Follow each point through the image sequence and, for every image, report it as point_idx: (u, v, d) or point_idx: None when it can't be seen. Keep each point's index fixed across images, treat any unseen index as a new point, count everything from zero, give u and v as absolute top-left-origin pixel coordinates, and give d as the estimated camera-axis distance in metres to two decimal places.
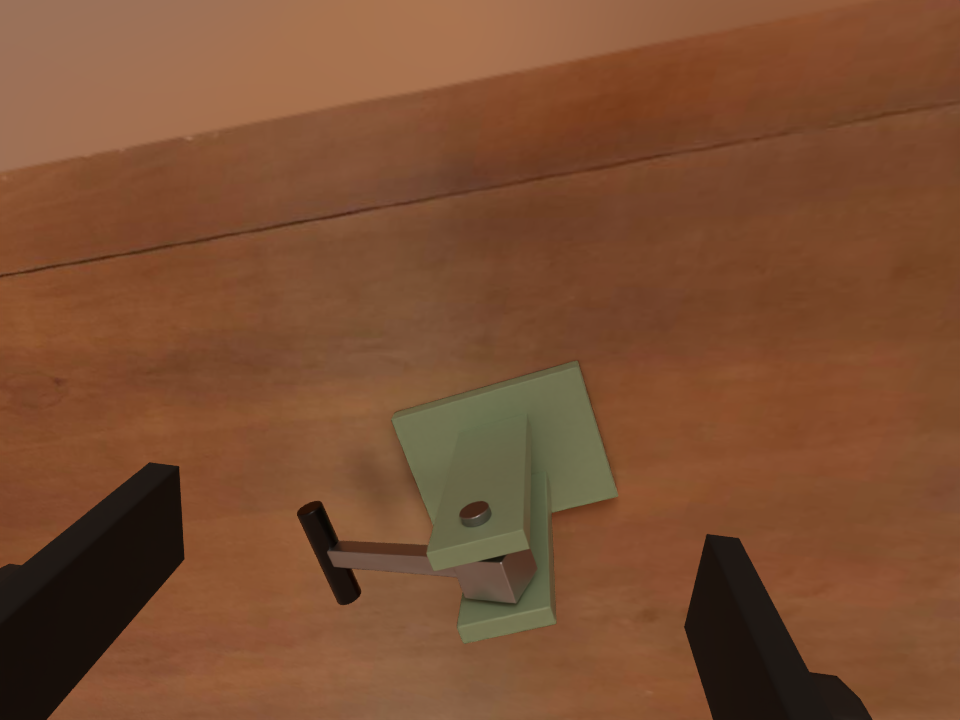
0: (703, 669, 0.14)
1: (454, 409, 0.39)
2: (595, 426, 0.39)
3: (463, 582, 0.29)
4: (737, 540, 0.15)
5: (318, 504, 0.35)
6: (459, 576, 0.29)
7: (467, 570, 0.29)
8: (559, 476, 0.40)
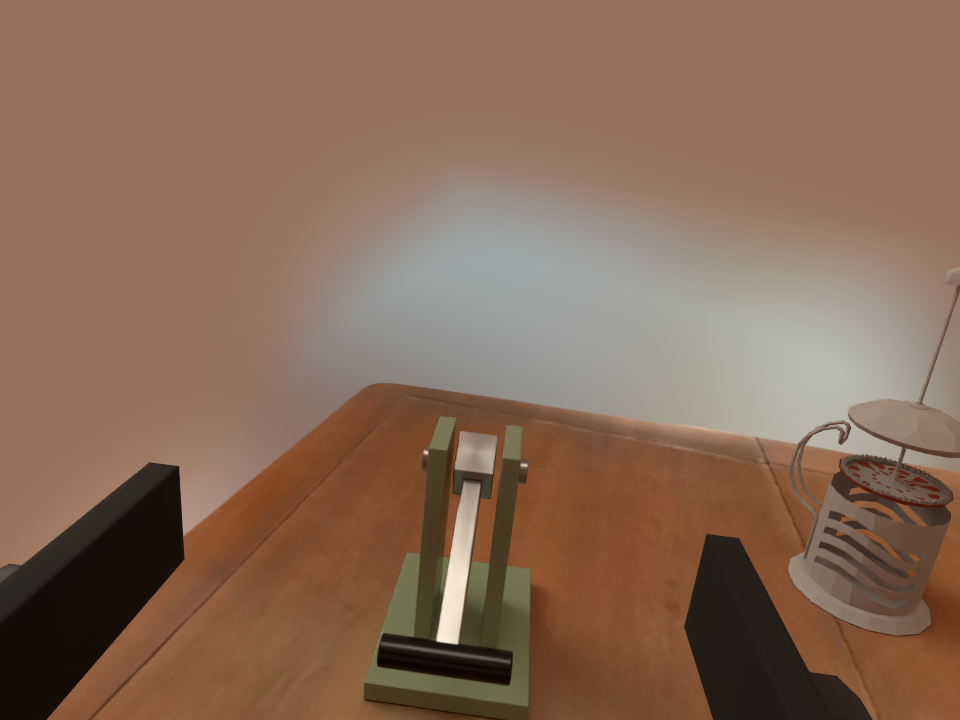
0: (704, 669, 0.14)
1: (389, 630, 0.39)
2: None
3: (476, 467, 0.35)
4: (737, 540, 0.15)
5: None
6: (470, 468, 0.35)
7: (465, 458, 0.36)
8: None
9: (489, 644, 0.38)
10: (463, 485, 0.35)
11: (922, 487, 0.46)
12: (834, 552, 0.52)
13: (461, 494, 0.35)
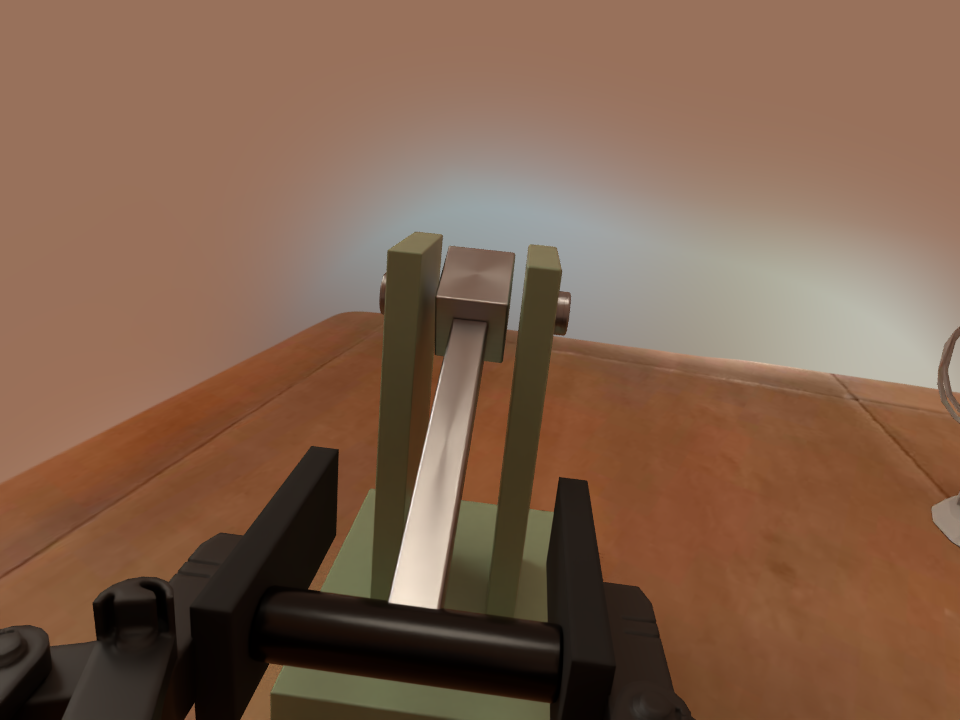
0: (548, 593, 0.16)
1: None
2: None
3: (476, 294, 0.19)
4: (586, 483, 0.17)
5: None
6: (466, 296, 0.19)
7: (456, 282, 0.20)
8: None
9: None
10: (453, 327, 0.19)
11: None
12: None
13: (449, 340, 0.19)
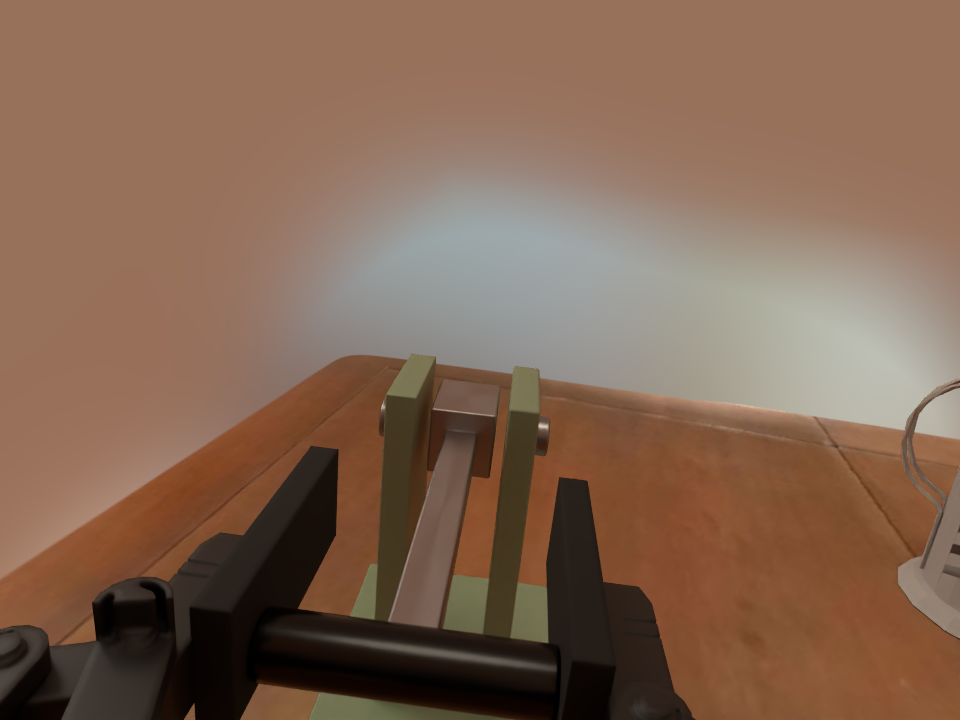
0: (549, 593, 0.16)
1: None
2: None
3: (467, 409, 0.22)
4: (586, 482, 0.17)
5: None
6: (458, 409, 0.22)
7: (449, 400, 0.22)
8: None
9: None
10: (446, 436, 0.21)
11: None
12: None
13: (443, 444, 0.21)
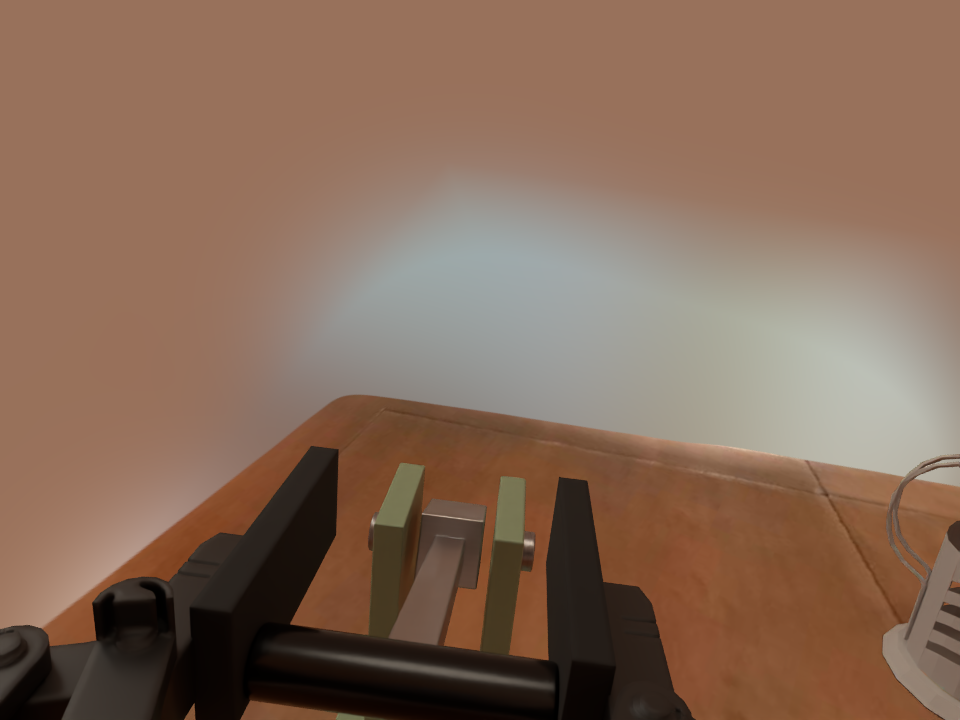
0: (548, 593, 0.16)
1: None
2: None
3: (457, 515, 0.23)
4: (586, 483, 0.17)
5: None
6: (448, 515, 0.23)
7: (439, 510, 0.23)
8: None
9: None
10: (436, 539, 0.22)
11: None
12: (942, 628, 0.39)
13: (433, 543, 0.21)
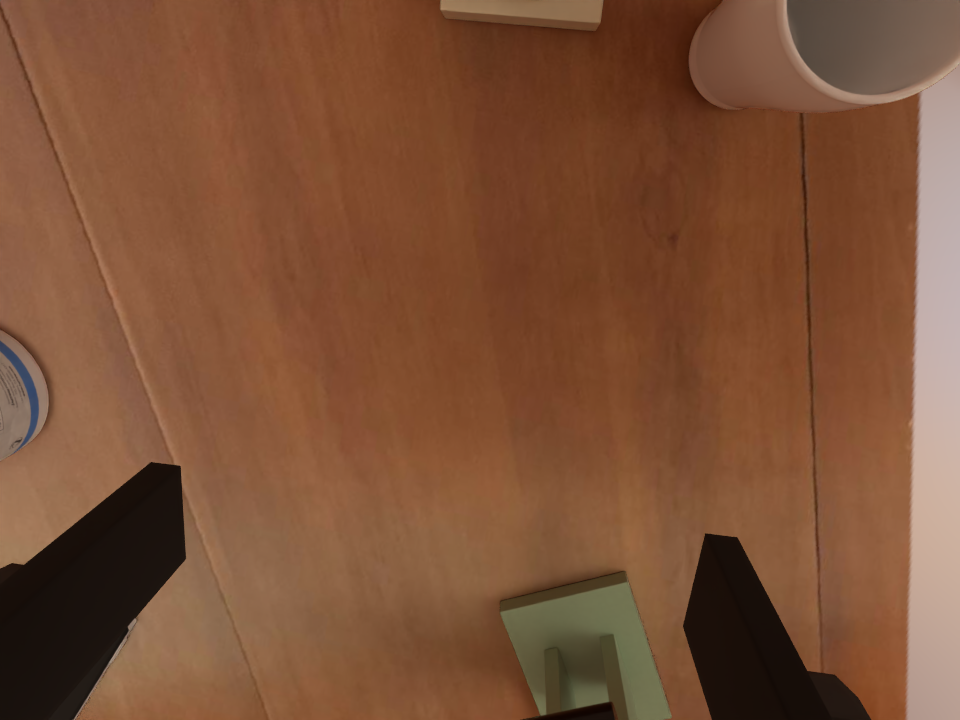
0: (702, 669, 0.14)
1: (636, 631, 0.44)
2: None
3: None
4: (735, 539, 0.15)
5: (617, 716, 0.28)
6: None
7: None
8: None
9: (549, 651, 0.44)
10: None
11: None
12: None
13: None
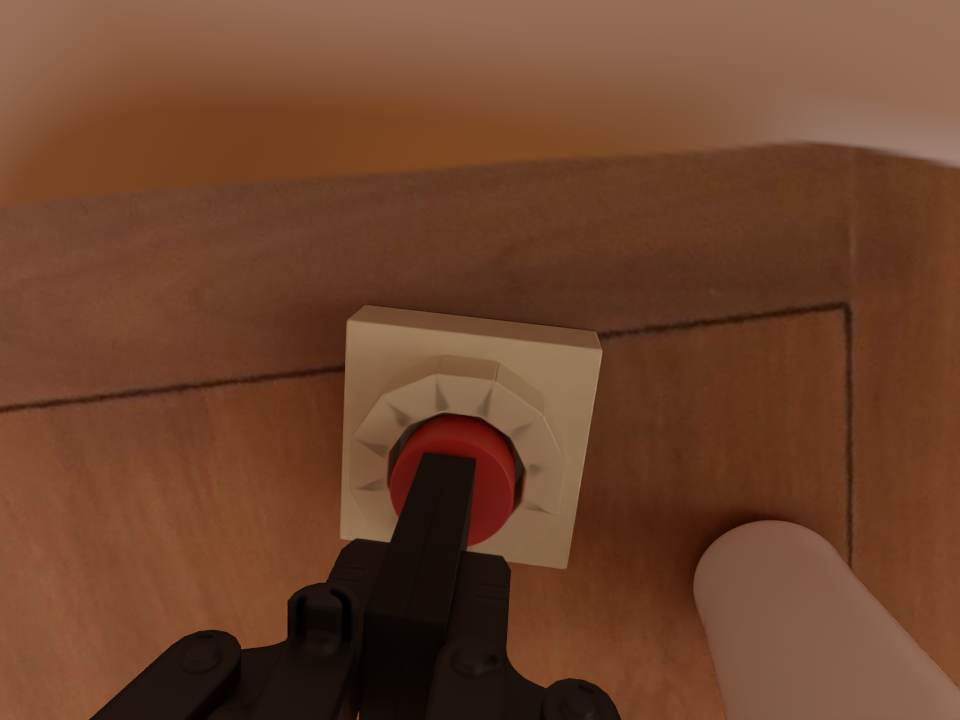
0: None
1: None
2: None
3: None
4: (475, 460, 0.18)
5: None
6: None
7: None
8: None
9: None
10: None
11: None
12: None
13: None
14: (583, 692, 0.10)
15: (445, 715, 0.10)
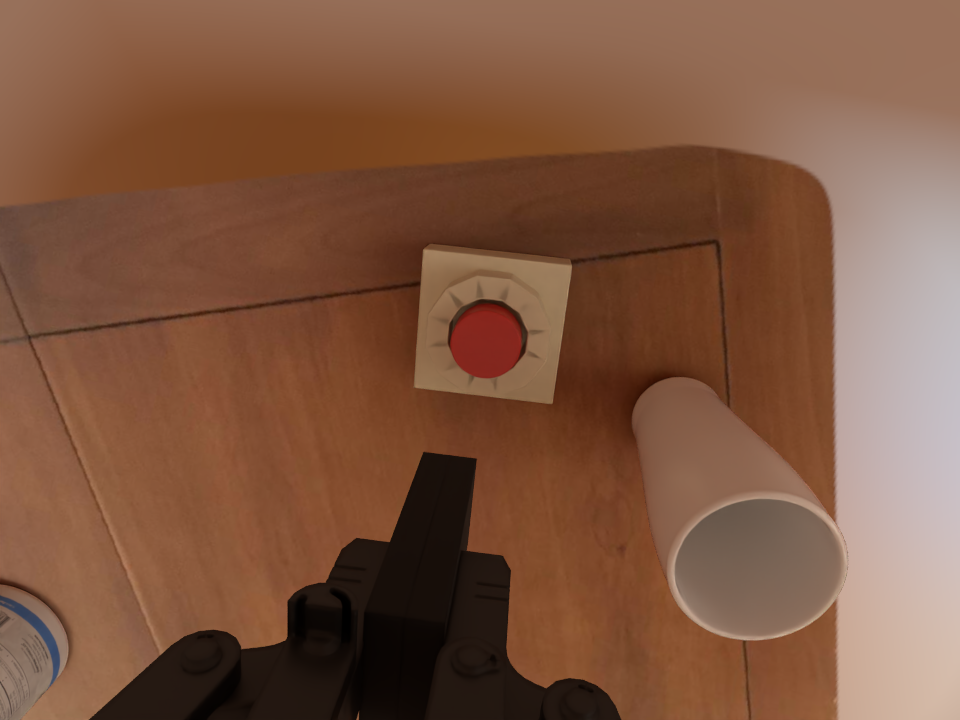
0: None
1: None
2: None
3: None
4: (475, 460, 0.18)
5: None
6: None
7: None
8: None
9: None
10: None
11: None
12: None
13: None
14: (584, 693, 0.10)
15: (445, 715, 0.10)
